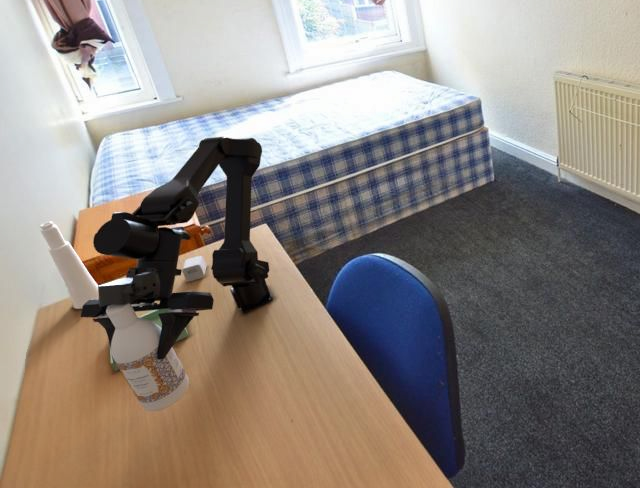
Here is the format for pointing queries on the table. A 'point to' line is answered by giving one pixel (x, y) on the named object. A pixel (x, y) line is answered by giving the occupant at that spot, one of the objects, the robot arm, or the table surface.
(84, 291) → the cosmetic bottle
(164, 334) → the robot arm
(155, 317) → the toiletries tray
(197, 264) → the usb wall charger
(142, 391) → the bath foam
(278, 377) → the table surface
